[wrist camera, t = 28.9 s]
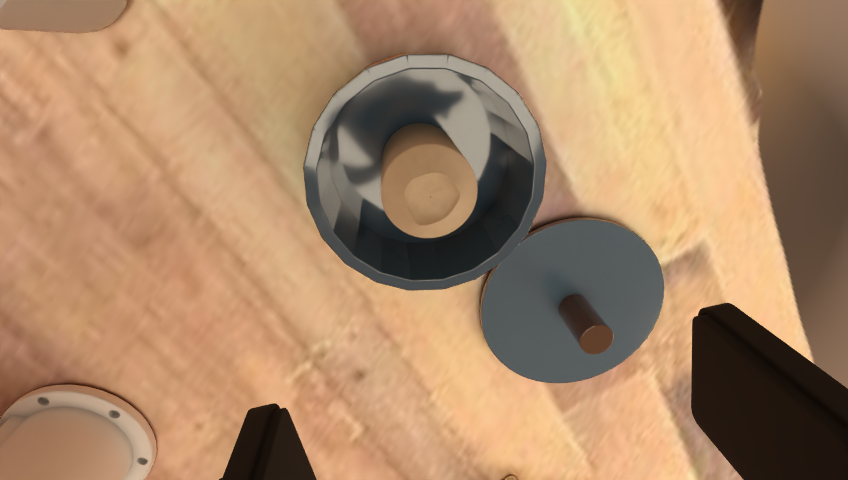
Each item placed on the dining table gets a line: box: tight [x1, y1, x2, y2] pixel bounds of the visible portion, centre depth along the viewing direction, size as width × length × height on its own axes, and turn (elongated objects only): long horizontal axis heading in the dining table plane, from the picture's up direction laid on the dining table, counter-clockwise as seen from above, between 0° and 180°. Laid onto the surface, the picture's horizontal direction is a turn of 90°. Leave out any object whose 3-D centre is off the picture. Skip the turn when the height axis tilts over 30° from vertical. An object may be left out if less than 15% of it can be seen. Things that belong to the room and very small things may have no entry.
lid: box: [480, 218, 664, 383], centre depth 38 cm, size 16×16×6 cm
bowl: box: [303, 53, 546, 290], centre depth 32 cm, size 15×15×7 cm
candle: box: [381, 123, 478, 238], centre depth 30 cm, size 6×6×10 cm
